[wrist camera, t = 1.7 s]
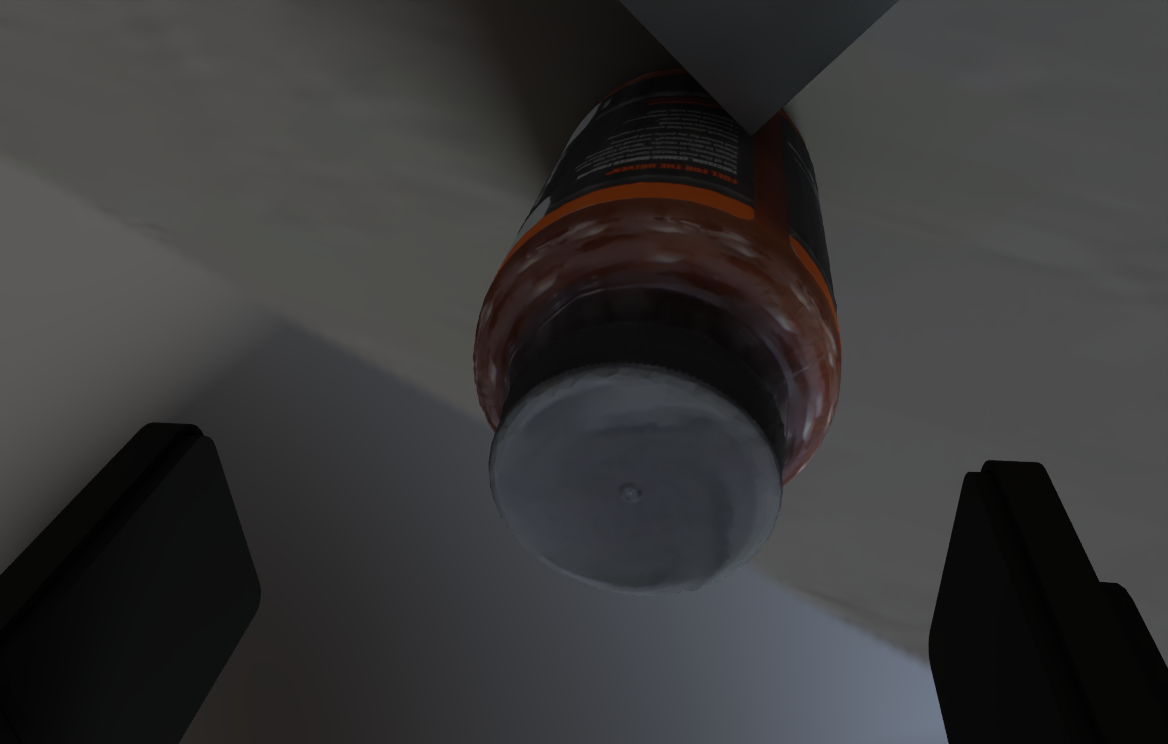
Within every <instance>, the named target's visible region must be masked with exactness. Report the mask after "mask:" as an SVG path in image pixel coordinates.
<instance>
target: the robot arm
mask: <svg viewBox="0 0 1168 744" xmlns="http://www.w3.org/2000/svg"><path fill="white" fill-rule="evenodd" d="M260 597H261V588H260V583H259V580H258V577H257V573H256V570H255V568H254V564H253V561H252V558H251V555H250V552H249V549H248V546H247V542H246V539H245V536H244V533H243V530H242V527H241V524H240V521H239V518H238V515H237V511H236V509H235V505H234V502H233V499H232V496H231V493H230V490H229V487H228V484H227V481H226V478H225V474H224V471H223V468H222V465H221V462H220V459H219V456H218V453H217V450H216V447H215V444H214V442H213V440H212V439H211V438H210V437H207V436H204V435H203V433H202V431H201V430H200V429H199V428H198V427H197V426H195V425H192V424H176V423H154V422H153V423H149V424H147V425H145V426H144V427H142V428H141V429H140V430H139V431H138V432H137V433H136V434H135V435H134V437H132V439H131V440H130V441H129V442H128V443H127V444H126V445H125V446H124V447H123V448H122V449H121V450H120V451H119V452H118V453H117V454H116V455H115V456H114V457H113V458H112V459H111V460H110V461H109V462H108V464H107V465H106V466H105V467H104V468H103V469H102V470H101V471H100V472H99V473H98V474H97V475H96V476H95V477H94V478H93V479H92V480H91V481H90V482H89V483H88V484H87V485H86V487H85V488H84V489H83V490H82V491H81V492H80V493H79V494H78V495H77V496H76V497H75V498H74V499H73V500H72V501H71V502H70V503H69V504H68V505H67V506H66V507H65V508H64V510H62V511H61V513H60V514H59V515H58V516H57V517H56V518H55V519H54V520H53V521H52V522H51V523H50V524H49V525H48V526H47V527H46V528H45V529H44V530H43V531H42V532H41V533H40V534H39V536H37V538H36V539H35V540H34V541H33V542H32V543H31V544H30V545H29V546H28V547H27V548H26V549H25V550H24V551H23V552H22V553H21V554H20V555H19V556H18V557H17V558H16V559H15V561H14V562H13V563H12V564H11V565H10V566H9V567H8V568H7V569H6V570H5V571H4V572H3V573H2V574H1V575H0V744H179V742H180V740H181V739H182V737H183V735H184V733H185V732H186V730H187V728H188V727H189V725H190V723H191V722H192V720H193V718H194V717H195V715H196V713H197V712H198V710H199V708H200V707H201V705H202V703H203V702H204V700H205V698H206V696H207V695H208V693H209V691H210V690H211V688H212V686H213V685H214V683H215V681H216V679H217V678H218V676H219V675H220V673H221V671H222V669H223V668H224V666H225V664H226V663H227V661H228V659H229V658H230V656H231V654H232V653H233V651H234V649H235V648H236V646H237V644H238V642H239V641H240V639H241V637H242V636H243V634H244V632H245V631H246V629H247V627H248V626H249V624H250V622H251V621H252V619H253V617H254V616H255V614H256V612H257V609H258V607H259V603H260ZM929 660H930V665H931V670H932V674H933V678H934V683H935V687H936V691H937V695H938V700H939V704H940V708H941V713H942V717H943V721H944V725H945V730H946V734H947V738H948V743H949V744H1168V668H1167V666H1166V664H1165V662H1164V660H1163V658H1162V656H1161V654H1160V652H1159V650H1158V648H1157V646H1156V644H1155V642H1154V640H1153V638H1152V636H1151V634H1150V632H1149V631H1148V629H1147V627H1146V625H1145V623H1144V621H1143V619H1142V617H1141V615H1140V613H1139V611H1138V609H1137V607H1136V605H1135V603H1134V601H1133V599H1132V598H1131V596H1130V595H1129V594H1128V592H1127V591H1126V589H1125V588H1123V587H1122V586H1121V585H1119V584H1118V583H1108V582H1099V580H1098V578H1097V576H1096V573H1095V571H1094V569H1093V567H1092V565H1091V563H1090V561H1089V559H1088V557H1087V555H1086V553H1085V550H1084V548H1083V546H1082V544H1081V542H1080V540H1079V538H1078V536H1077V534H1076V532H1075V530H1074V528H1073V525H1072V523H1071V521H1070V519H1069V517H1068V515H1067V513H1066V511H1065V509H1064V507H1063V505H1062V502H1061V500H1060V498H1059V496H1058V494H1057V492H1056V490H1055V488H1054V486H1053V484H1052V482H1051V479H1050V477H1049V475H1048V473H1047V471H1046V469H1045V468H1044V466H1043V465H1042V464H1040V463H1038V462H1018V461H996V460H988V461H986V462H985V463H984V465H983V466H982V469H981V472H968V473H967V474H966V475H965V477H964V481H963V485H962V489H961V494H960V498H959V503H958V507H957V512H956V516H955V521H954V525H953V530H952V534H951V539H950V543H949V548H948V552H947V557H946V561H945V566H944V570H943V575H942V579H941V584H940V588H939V593H938V597H937V602H936V606H935V611H934V615H933V620H932V624H931V629H930V634H929Z"/></svg>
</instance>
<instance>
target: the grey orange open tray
mask: <svg viewBox="0 0 1168 744" xmlns="http://www.w3.org/2000/svg"><path fill="white" fill-rule="evenodd" d="M619 1H620V2H621V3H622V4H623V5H624V6H625V7H626V8H627V9H628V10H629V12H630V13H631V14H632V15H633V16H634V17H635V18H636V19H637V20H638V21H639V22H640V23H641V24H642V25H643V26H644V27H645V28H646V29H647V30H648V31H649V32H650V33H651V34H652V35H653V36H654V37H655V38H656V39H657V40H658V41H659V42H660V43H661V44H662V45H663V46H664V48H665V49H666V50H667V51H668V52H669V53H670V54H671V55H672V56H673V57H674V58H675V59H676V60H677V61H678V62H679V63H680V64H681V65H682V66H683V67H684V68H685V69H686V70H687V71H688V72H689V73H690V74H691V75H692V76H693V77H694V78H695V79H696V80H697V81H698V83H699V84H700V85H701V86H702V87H703V88H704V89H705V90H706V91H707V92H708V93H709V94H710V95H711V96H712V97H713V98H714V99H715V100H716V101H717V102H718V103H719V104H720V105H721V106H722V107H723V108H724V109H725V110H726V111H727V112H728V113H729V114H730V115H731V116H732V117H733V119H734V120H735V121H736V122H737V123H738V124H739V125H740V126H741V127H742V128H743V129H744V130H745V131H746V132H747V133H748V134H749V135H750V136H752V135H753V134H754V133H755V132H756V131H757V130H758V129H760V128H761V127H762V126H763V125H764V124H765V123H766V122H767V121H768V120H769V119H770V118H771V117H773V116H774V115H775V114H776V113H777V112H778V111H779V110H780V109H781V108H782V107H783V106H784V105H786V104H787V103H788V102H789V101H790V100H791V99H792V98H793V97H794V96H795V95H796V94H797V93H799V92H800V91H801V90H802V89H803V88H804V87H805V86H806V85H807V84H808V83H809V82H810V81H812V80H813V79H814V78H815V77H816V76H817V75H818V74H819V73H820V72H821V71H822V70H824V69H825V68H826V67H827V66H828V65H829V64H830V63H831V62H832V61H833V60H834V59H835V58H837V57H838V56H839V55H840V54H841V53H842V52H843V51H844V50H845V49H846V48H847V47H848V46H850V45H851V44H852V43H853V42H854V41H855V40H856V39H857V38H858V37H859V36H860V35H861V34H863V33H864V32H865V31H866V30H867V29H868V28H869V27H870V26H871V25H872V24H873V23H874V22H876V21H877V20H878V19H879V18H880V17H881V16H882V15H883V14H884V13H885V12H886V11H887V10H889V9H890V8H891V7H892V6H893V5H894V4H895V3H896V2H897V1H898V0H619Z"/></svg>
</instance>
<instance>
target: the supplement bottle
mask: <svg viewBox="0 0 1168 744" xmlns="http://www.w3.org/2000/svg"><path fill="white" fill-rule="evenodd" d="M836 310H837V305H836V302H835V298H834V293H833V285H832V279H831V272H830V265H829V258H828V252H827V246H826V240H825V233H824V226H823V221H822V216H821V210H820V203H819V199H818V188H817V183H816V178H815V173H814V168H813V164H812V162H811V159H810V156H809V153H808V151H807V149H806V145H805V142H804V140H803V138H802V137H801V135H800V133H799V131H798V130H797V128H796V126H795V125H794V123H793V122H792V121H791V119H790V118H789V117H788V115H787V114H786V113H785V112H784V111H783V110H782V108H781V109H780V110H779V111H778V112H777V113H776V114H775V115H774V116H773V117H771V118H770V119H769V120H768V121H767V122H766V123H765V124H764V125H763V126H762V127H761V128H760V129H758V130H757V131H756V132H755V133H754V134H753V135H752V136H750V135H749V134H748V133H747V132H746V131H745V130H744V129H743V128H742V127H741V126H740V125H739V124H738V123H737V122H736V121H735V120H734V119H733V117H732V116H731V115H730V114H729V113H728V112H727V111H726V110H725V109H724V108H723V107H722V106H721V105H720V104H719V103H718V102H717V101H716V100H715V99H714V98H713V97H712V96H711V95H710V94H709V93H708V92H707V91H706V90H705V89H704V88H703V87H702V86H701V85H700V84H699V83H698V81H697V80H696V79H695V78H694V77H693V76H692V75H691V74H690V73H689V72H688V71H687V70H686V69H685V68H673V69H667V70H661V71H656V72H651V73H648V74H644V75H641V76H639V77H637V78H635V79H633V80H631V81H629V82H627V83H625V84H623V85H621V86H619V87H618V88H616V89H615V90H613V91H612V92H611V93H610V94H608V95H607V96H606V97H605V98H603V99H602V100H601V101H600V102H599V103H598V104H596V105H595V106H594V107H593V108H592V110H591V111H590V112H589V113H588V114H587V116H586V117H585V118H584V119H583V120H582V121H581V123H580V124H579V126H578V127H577V129H576V130H575V131H574V133H573V134H572V136H571V138H570V140H569V142H568V143H567V145H566V147H565V149H564V151H563V153H562V154H561V156H560V158H559V160H558V162H557V163H556V165H555V167H554V169H553V171H552V173H551V174H550V176H549V178H548V179H547V181H546V184H545V185H544V187H543V189H542V191H541V193H540V195H539V196H538V198H537V200H536V202H535V204H534V206H533V207H532V209H531V211H530V213H529V215H528V217H527V218H526V220H525V222H524V223H523V225H522V227H521V229H520V231H519V233H518V235H517V237H516V239H515V241H514V243H513V245H512V246H511V248H510V250H509V252H508V254H507V256H506V257H505V259H504V261H503V263H502V265H501V267H500V269H499V271H498V273H497V275H496V276H495V278H494V280H493V282H492V284H491V286H490V288H489V290H488V292H487V294H486V296H485V299H484V302H483V306H482V309H481V312H480V315H479V320H478V323H477V329H476V335H475V336H476V339H475V344H474V354H473V360H474V374H475V383H476V386H477V393H478V397H479V403H480V406H481V407H482V409H483V411H484V413H485V416H486V419H487V421H488V424H489V426H490V427H491V429H492V430H493V432H494V433H495V435H494V438H493V441H492V445H491V451H490V457H489V476H490V487H491V490H492V494H493V499H494V501H495V504H496V506H497V508H498V510H499V513H500V516H501V517H502V519H503V520H504V522H505V523H506V525H507V527H508V528H509V530H510V531H511V532H512V533H513V535H514V536H515V537H516V538H517V540H518V541H519V542H520V543H522V544H523V546H524V547H525V548H526V549H527V550H528V551H530V552H531V553H532V554H533V555H534V556H535V557H536V558H537V559H538V560H540V561H541V562H543V563H545V564H546V565H548V566H549V567H551V568H552V569H554V570H555V571H556V572H558V573H560V574H562V575H564V576H567V577H569V578H571V579H574V580H576V581H578V582H580V583H581V584H584V585H586V586H590V587H594V588H597V589H602V590H606V591H609V592H614V593H619V594H626V595H632V596H634V595H642V596H654V595H662V594H672V593H680V592H682V591H694V590H697V589H699V588H701V587H703V586H705V585H709V584H712V583H714V582H718V581H720V580H722V579H723V578H725V577H727V576H729V575H731V574H733V573H735V572H736V571H737V570H738V569H739V568H740V567H741V566H742V565H744V564H745V563H747V562H748V561H749V560H750V559H751V558H753V557H754V556H755V555H756V554H757V552H758V551H759V549H760V548H761V546H762V545H763V544H764V543H765V542H766V540H767V539H768V538H769V536H770V534H771V533H772V530H773V528H774V525H775V522H776V519H777V516H778V514H779V511H780V508H781V500H782V493H783V491H782V487H783V486H784V485H786V484H787V483H788V482H789V481H790V480H791V479H792V478H793V477H795V476H796V475H797V474H798V473H799V472H800V471H801V470H802V469H803V468H804V467H805V466H806V465H807V464H808V462H809V460H810V459H811V458H812V456H813V455H814V454H815V452H816V450H817V449H818V447H819V446H820V444H821V442H822V440H823V438H824V436H825V435H826V433H827V431H828V429H829V427H830V425H831V422H832V418H833V416H834V412H835V407H836V405H837V402H838V396H839V389H840V380H841V362H842V361H841V341H840V334H839V327H838V322H837V315H836Z"/></svg>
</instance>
